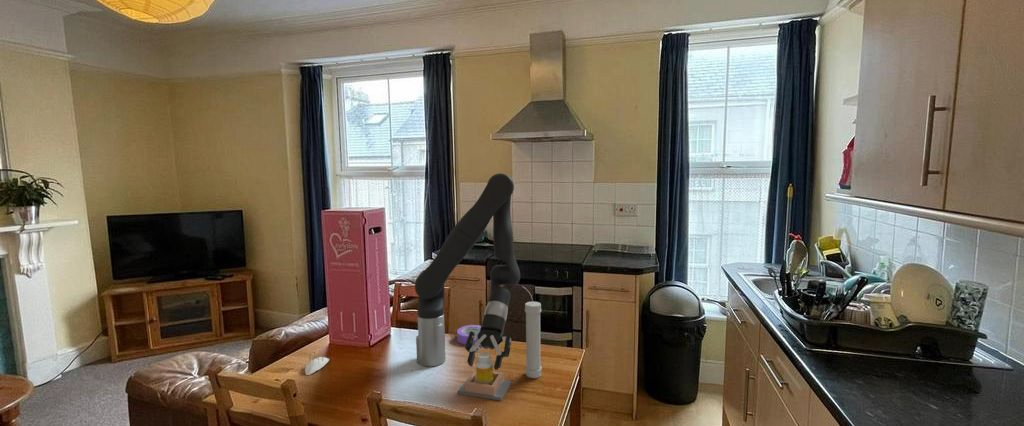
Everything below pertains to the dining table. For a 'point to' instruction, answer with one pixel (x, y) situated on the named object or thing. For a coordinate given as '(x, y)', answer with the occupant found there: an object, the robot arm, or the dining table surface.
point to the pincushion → (315, 364)
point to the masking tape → (467, 333)
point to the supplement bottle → (484, 369)
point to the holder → (486, 387)
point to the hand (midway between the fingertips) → (482, 367)
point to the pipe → (533, 339)
